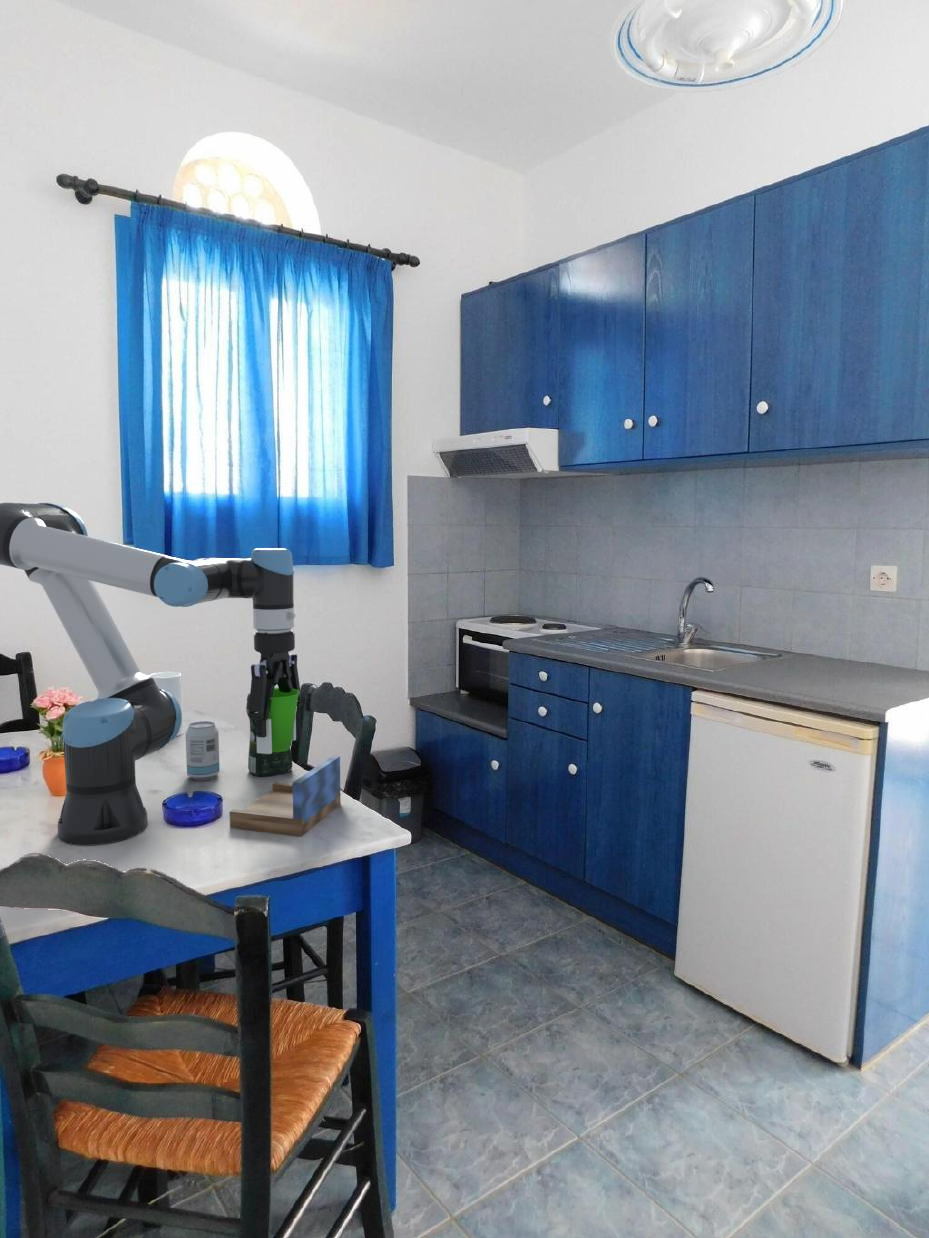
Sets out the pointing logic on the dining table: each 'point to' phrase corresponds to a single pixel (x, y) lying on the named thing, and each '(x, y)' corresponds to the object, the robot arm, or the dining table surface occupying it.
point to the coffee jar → (265, 755)
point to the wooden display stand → (294, 803)
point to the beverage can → (202, 750)
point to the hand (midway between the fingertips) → (277, 745)
